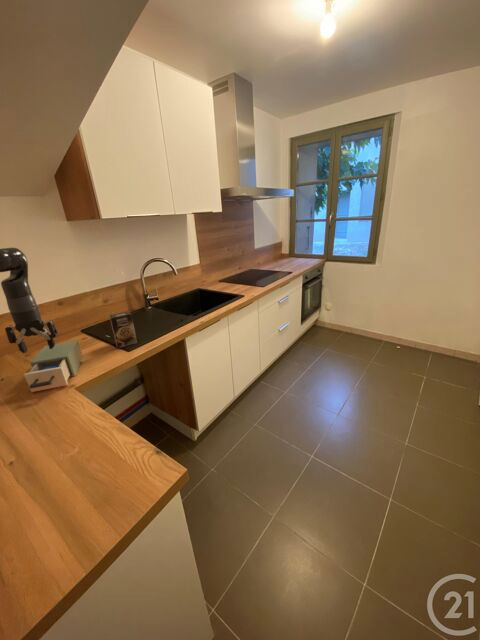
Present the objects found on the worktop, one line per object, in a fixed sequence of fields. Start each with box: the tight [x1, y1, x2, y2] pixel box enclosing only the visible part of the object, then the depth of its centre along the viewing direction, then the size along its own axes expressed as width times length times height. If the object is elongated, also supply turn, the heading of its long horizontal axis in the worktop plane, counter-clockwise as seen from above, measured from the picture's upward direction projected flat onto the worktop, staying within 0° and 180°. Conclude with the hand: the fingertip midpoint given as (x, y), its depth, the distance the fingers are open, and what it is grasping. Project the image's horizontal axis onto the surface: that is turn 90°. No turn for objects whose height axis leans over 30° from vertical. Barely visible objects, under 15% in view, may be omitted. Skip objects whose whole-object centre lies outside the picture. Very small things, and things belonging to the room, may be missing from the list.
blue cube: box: [43, 365, 58, 370], centre depth 98 cm, size 4×4×4 cm
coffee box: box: [108, 310, 138, 349], centre depth 124 cm, size 9×6×16 cm
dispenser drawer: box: [23, 358, 71, 393], centre depth 97 cm, size 18×11×7 cm, turn 18°
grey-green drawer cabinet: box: [29, 340, 84, 378], centre depth 106 cm, size 15×13×9 cm
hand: (38, 350), depth 96 cm, fingers open, 8 cm apart
